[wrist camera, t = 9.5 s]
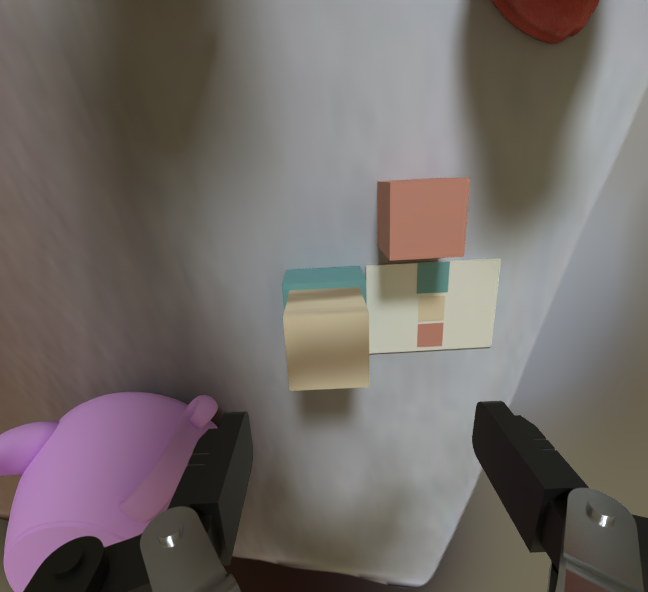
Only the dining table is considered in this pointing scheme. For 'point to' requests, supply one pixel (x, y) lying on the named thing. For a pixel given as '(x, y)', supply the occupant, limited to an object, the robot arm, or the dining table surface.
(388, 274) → the page
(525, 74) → the dining table surface
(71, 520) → the teapot
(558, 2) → the stacking bear
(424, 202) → the red block
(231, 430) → the robot arm
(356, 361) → the maple block
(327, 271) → the teal base brick
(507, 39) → the dining table surface
